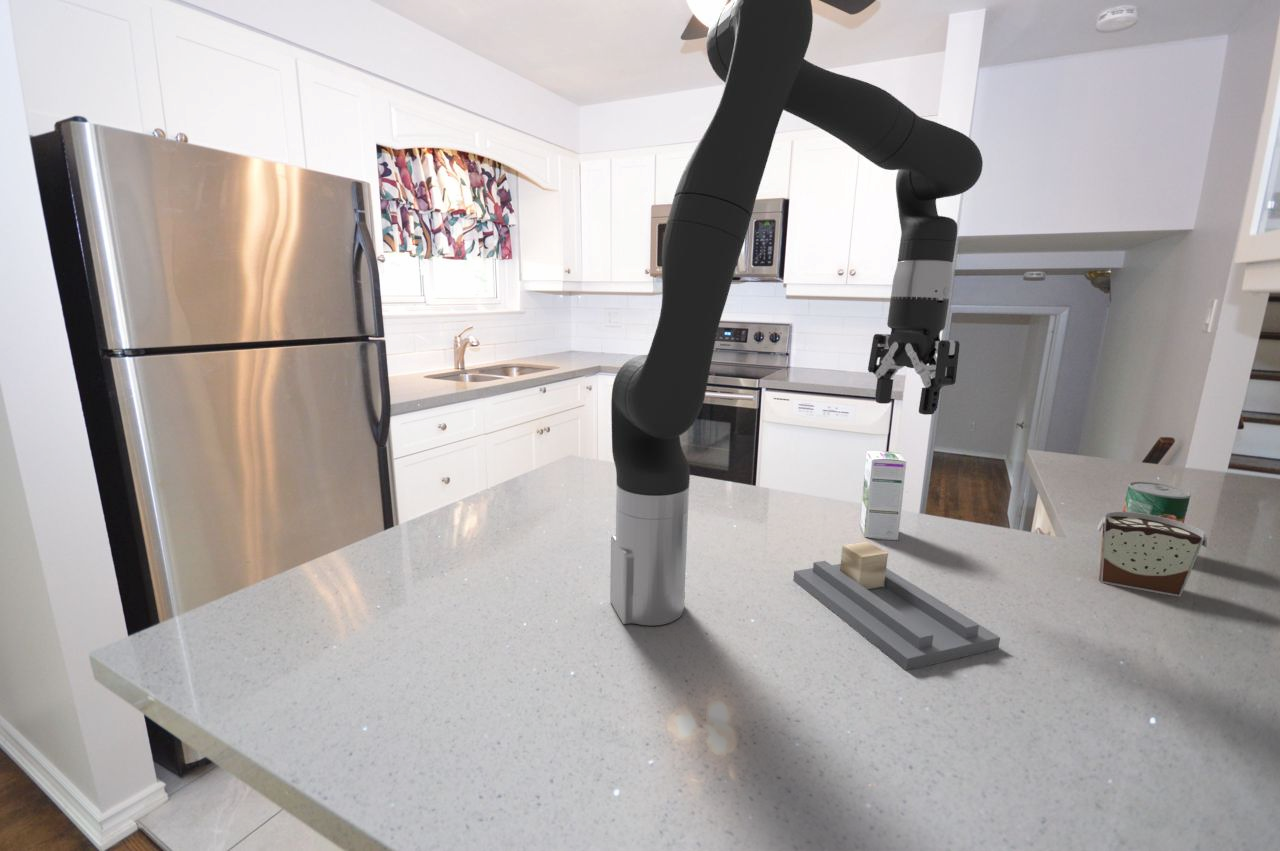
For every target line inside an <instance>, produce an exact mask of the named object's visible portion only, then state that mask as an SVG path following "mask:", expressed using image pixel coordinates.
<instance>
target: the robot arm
mask: <svg viewBox="0 0 1280 851" xmlns="http://www.w3.org/2000/svg"><path fill="white" fill-rule="evenodd" d="M813 16H814V15H813V5H812V0H730V1H728V3H727V4H726V5H725V6H724V7H723V8H721V9H720V10H719V12H718V13H717V14H716V16H715V17H714V19H713V20H712V22H711V24H710V26H709V28H708V31H707V36H706V54H707V58H708V62H709V63H710V66H711V68H712V70H713V72H714V73H715V74H716V75H717V77H718V78H719V79H720V80H721V81H723V82H724V88H723V90H722V94H721V97H720V100H719V102H718V104H717V107H716V109H715V111H714V114H713V115H712V118H711V119H710V121H709V123H708V125H707V127H705V128H706V129H705V130H704V132H703V133H702V135H701V138H700V139H699V141H698V143H697V145H696V146H695V148H694V150H693V152H692V154H691V155H690V158H689V159H688V161H687V164H686V165H685V168H684V170H683V171H682V174H681V176H680V180H679V181H678V184H677V186H676V189H675V192H674V196H673V199H672V204H671V207H670V211H669V214H668V217H667V218H668V219H667V222H666V226H665V230H664V234H663V240H662V249H661V251H662V252H661V282H662V283H661V284H662V287H661V288H662V290H661V291H662V292H661V294H662V296H661V297H662V298H661V307H660V313H659V314H660V315H659V318H658V321H657V325H656V326H657V327H656V329H655V332H654V335H653V338H652V341H651V345H650V348H649V350H648V353H647V354H641V355H637V356H635V357H632V358H631V359H629V360H627V361H626V362H625V363H624V364H622V366H621V367H620V369H619V370H618V371H617V374H616V375H615V378H614V381H613V384H612V389H611V402H610V404H611V406H610V408H611V411H610V412H611V413H610V414H611V416H610V417H611V419H610V420H611V453H612V458H613V461H614V462H613V463H614V467H615V472H616V490H615V492H616V495H615V496H616V499H615V500H616V501H615V502H616V504H615V534H613V535H611V536H610V580H609V581H610V583H609V586H610V589H609V590H610V592H609V594H610V596H609V603H610V604H611V605H612V607H613V608H614V611H615V612H616V614H617V616H618V618H619V620H620V621H621V623H622V624H624V625H627V624H637V625H641V626H661V625H666V624H670V623H673V622H675V621H676V620H678V619H679V618H680V617H682V615H683V614H684V610H685V598H686V570H687V568H686V567H687V549H688V547H687V546H688V545H687V544H688V526H689V525H688V520H689V503H690V502H689V501H690V500H689V498H690V497H689V496H690V483H691V482H690V478H691V477H690V476H691V468H690V467H691V466H690V464H689V462H688V460H687V458H686V455H685V454H684V450H683V448H682V443H681V439H680V436H681V435H683V434H684V433H686V432H687V431H688V430H689V429H690V428H692V426H693V425H694V423H695V422H696V420H697V419H698V417H699V416H700V413H701V410H702V407H703V404H704V402H705V401H704V400H705V397H706V392H707V388H708V382H709V378H710V377H709V375H710V372H711V371H710V370H711V365H712V359H713V355H714V349H715V344H716V341H717V340H716V339H717V334H718V331H719V326H720V323H721V320H722V317H723V313H724V309H725V306H726V303H727V300H728V296H729V291H730V289H731V286H732V285H731V284H732V281H733V279H734V276H735V271H736V268H737V264H738V261H739V258H740V255H741V253H742V250H743V247H744V244H745V240H746V236H747V233H748V229H749V226H750V223H751V220H752V218H753V217H752V215H753V212H754V208H755V203H756V199H757V196H758V192H759V189H760V186H761V182H762V180H763V175H764V173H765V169H766V167H767V166H766V165H767V162H768V159H769V156H770V154H771V149H772V145H773V142H774V138H775V136H776V131H777V128H778V127H779V126H778V125H779V122H780V120H781V118H782V114H783V111H785V112H787V113H789V114H791V115H793V116H795V117H797V118H799V119H801V120H803V121H805V122H808V123H809V124H812V125H813V126H815V127H817V128H819V129H821V130H822V131H824V132H826V133H828V134H830V135H831V136H833V137H835V138H836V139H838V140H839V141H840V142H842V143H843V144H846V145H847V146H848V147H850V148H851V149H852V150H854V151H855V152H857V153H858V154H860V155H861V156H863V157H864V158H865V159H867V160H868V161H869V162H871V163H873V164H874V165H875V166H877V167H878V168H881V169H883V170H887V171H897V173H896V179H895V193H896V201H897V208H898V217H899V218H898V220H899V224H900V232H901V233H900V243H899V247H898V248H899V249H898V257H897V263H896V268H895V271H894V275H893V280H892V285H891V294H890V302H889V308H888V314H887V315H888V316H887V323H886V324H887V327H888V328H889V329H891V331H890V333H889V334H888V333H887V334H886V333H875V334H874V335H873V337H872V341H871V342H872V343H871V349H870V353H869V354H870V355H869V359H868V360H869V361H868V367H867V372H868V373H870V374H871V373H872V374H874V375H875V377H876V378H877V380H876V387H875V402H876V403H877V404H884V405H885V404H890V403H891V401H892V400H891V399H892V392H893V384H894V379H892V378H894V376H895V375H896V374H897V372H898V371H899V370H902V369H903V368H904V367H906V368H909V369H914V372H915V373H916V374H918V375H919V376H920V379H921V382H922V384H923V387H921V392H920V393H921V394H920V401H919V405H918V413H919V414H921V415H925V416H926V415H934V414H935V412H936V411H937V409H938V405H939V404H938V403H939V399H940V394H941V393H940V392H941V389H942V388H943V387H946V386H954V385H955V384H956V381H957V370H958V362H959V353H960V347H961V346H960V345H961V344H960V341H958V340H952V339H946V340H944V339H941V337H940V334H941V332H942V331H944V330H945V328H946V322H947V318H948V317H947V316H948V310H949V305H950V297H951V296H950V295H951V291H952V284H953V265H954V259H955V250H956V245H957V238H958V223H957V221H956V220H955V219H953V218H951V217H948V216H943V215H939V214H938V213H939V212H938V209H937V199H943V198H950V197H955V196H958V195H961V194H964V193H966V192H967V191H969V190H971V189H972V188H973V187H974V186H975V185H976V183H977V182H978V180H979V179H980V177H981V175H982V171H983V167H984V166H983V156H982V154H981V151H980V149H979V147H978V146H977V144H976V142H974V140H972V139H971V138H970V137H969V136H967V135H966V134H964V132H963V133H962V132H960V131H958V130H957V129H954V128H952V127H949V126H947V125H943V124H941V123H938V122H936V121H933V120H929V119H927V118H924V117H921V116H919V115H917V113H915V112H914V110H912V109H910V108H909V107H908V106H907V105H905V104H904V103H903V102H902V101H900V100H899V99H898V98H897V97H895V95H893V94H891V93H890V92H888V91H886V90H885V89H883V88H881V87H879V86H877V85H875V84H872V83H869V82H866V81H864V80H861V79H857V78H853V77H850V76H847V75H844V74H840V73H836V72H833V71H830V70H827V69H824V68H823V67H820V66H818V65H816V64H814V63H811V62H809V61H808V60H806V59H805V57H806V53H807V50H808V47H809V45H810V42H811V36H812V33H813V32H812V31H813V24H814V22H813V21H814V17H813ZM878 360H879V362H878Z"/></svg>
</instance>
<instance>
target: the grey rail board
mask: <svg viewBox="0 0 1280 851" xmlns="http://www.w3.org/2000/svg"><path fill="white" fill-rule="evenodd" d="M840 564H841V563H837V564H831V563H829V562H828V561H826V560H821V561H820V560H819V561H815V562H814V561H813V564H812V567H811V568H806V569H799V570H798V569H797V570H794V571H793V581H794V582H795V583H796V584H797V585H798V586H800V587H801V588H802V589H803V590H805V591H806V592H807V593H808V594H810V595H811V596H812V597H813V598H815V599H816V600H817V601H818V602H820V603H821V605H823V606H824V607H826V608H828V610H829V611H831V612H832V613H833V614H835V615H836V616H837V617H838V618H840V619H841V620H842V621H844V623H846V624H847V625H848V626H849V627H851V628H852V629H854V630H855V631H856V632H857V633H858V634H860V635H861V636H862V637H864V638H865V639H866V640H867V641H868V642H870V643H871V644H873V646H875V647H876V648H877V649H878V650H879V651H881V652H882V653H884V655H886V656H887V657H888V658H890V659H891V660H892V661H893V662H894V663H896V664H897V665H898V666H900V667H901V668H902V669H903V670H905V671H909V670H914V669H918V668H922V667H926V666H927V667H928V666H930V665H934V664H939V663H943V662H947V661H951V660H955V659H960V658H964V657H968V656H969V657H970V656H972V655H977V654H981V653H985V652H989V651H993V650H997V649H999V648H1000V641H1001V637H1000V636H999V635H997V634H996V633H995V632H992V631H991V630H989V629H987V628H986V627H984V626H982V625H981V624H979V622H976V621H974V620H973V619H971V618H969V617H968V616H966V615H965V614H962V613H961V612H959V611H958V610H956V609H955V608H953V607H951V606H949V605H948V604H947V603H945V602H943V601H942V600H940V599H938V598H937V597H935V596H934V595H932V594H930V593H929V592H927V591H925V590H923V589H922V588H920V587H919V586H917V585H915V584H913V583H911V582H910V581H908V580H907V579H905V578H903V577H902V576H900V575H898V574H897V573H895V572H893V571H892V570H891V569H889V568H887V567H886V574H885V582H884V587H878V588H872V589H866V588H864V587H863V586H861V585H860V584H859V583H857V582H856V581H854V580H853V579H851V578H850V577H848V576H847V575H845V574H844V573H842V572H841V571H840Z"/></svg>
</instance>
